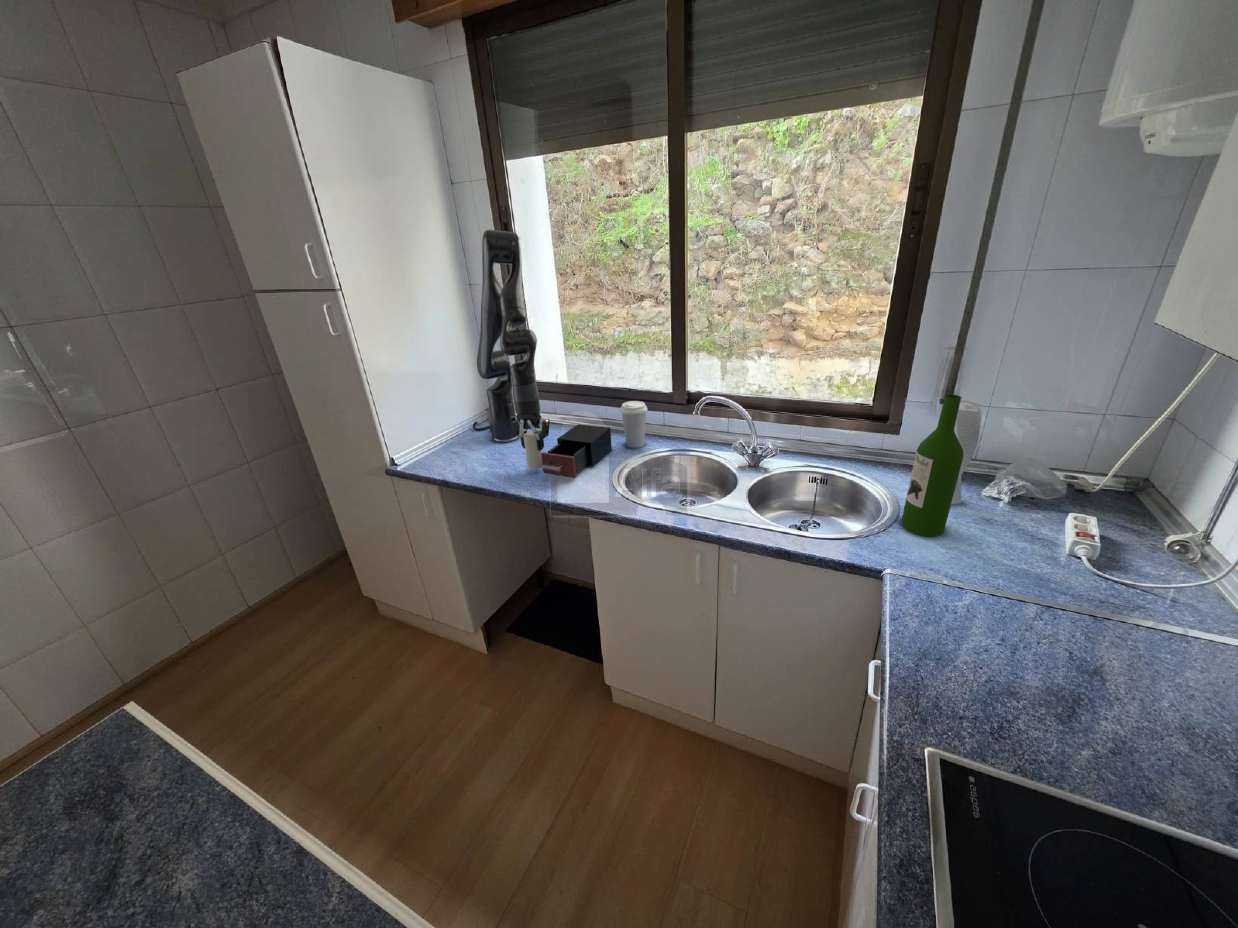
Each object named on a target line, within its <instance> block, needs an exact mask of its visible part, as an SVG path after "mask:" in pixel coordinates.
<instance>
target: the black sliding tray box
mask: <svg viewBox="0 0 1238 928" xmlns="http://www.w3.org/2000/svg"><path fill="white" fill-rule="evenodd" d="M611 433H612V432H611V427H607V426H599V425H590V424H581V423H580V424H579V423H578V424H576V425H575V426H573V427H572V428H571V429H569V430H568V431H566V432H564V433H563V434H561V435H560V436H559V437H557V438H556V441H557V445H558V444H559V443H560V442H562V441H563V442H571V443H579V444H586V445H589V453H590V463H589V464H588V465H586V466H585V467H589V468H593V467H595V466H596V465H597V464H598V463H600V461H602V460H603V459H605V457H606V456H608V455H609V454H610V453H611V452H612V450H613V447H612V434H611Z"/></svg>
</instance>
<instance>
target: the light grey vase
mask: <svg viewBox="0 0 1238 928" xmlns="http://www.w3.org/2000/svg"><path fill="white" fill-rule="evenodd" d="M981 407H982V405H981V403H979V402H977V401H971V400H966V399H962V398H961V401H960V405H959V410H958V414H957V419H956V423H955V427H954V431H955V434H956V436H957V438H958V440H959V442H960V445H961V447H962V449H963V460H962V464H961V468H960V472H959V476H958V480H957V483H956V487H955V491H954V495H953V499H952V503H951V506H953V505H957V504H962V500H963V499H962V475H963V474H964V471H965V470H966V469H967V467H968V466H969V464H970V462H971V461H972V459H973V456H974V454H975V453H976V449H977V447H978V443H979V440H980V435H981V426H982V425H981V424H982V410H981Z"/></svg>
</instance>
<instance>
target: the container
mask: <svg viewBox="0 0 1238 928" xmlns="http://www.w3.org/2000/svg"><path fill="white" fill-rule="evenodd" d="M523 437H524V444H525V449H524V451H525V456H526V464H527V468H528V469H529V470H539V469H543V468H542V465H543V464H542V456H541V453H543V451H542V450H543V449H542V450H541V451H539V450H538V448H537V438H536V436H535V434H533V432H532V431H527V433H525V434H524V435H523Z"/></svg>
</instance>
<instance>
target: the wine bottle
mask: <svg viewBox="0 0 1238 928" xmlns="http://www.w3.org/2000/svg"><path fill="white" fill-rule="evenodd" d="M961 399H962V396H960V395H958V394H945V395H944V399H943V402H942V407H941V411H940V415H939V418H938V422H937V427H936V428H935V429H934V430H933V431H932V432H931V433H930V434H929V435H928V436H927V437H925V438H924V439H923V440H922V441H921V442H920V443H919V445H918V447H917V449H916V452H915V457H914V459H913V465H912V470H911V474H910V479H909V484H908V488H907V494H906V497H905V502H904V507H903V511H902V517H901V520H900V521H901V526H902V527H903V528H904V529H905V530H906V531H907V532H909V533H911V534H914V535H917V536H922V537H929V538H931V537H932V538H933V537H939V536H941V535H942V534H943V533H944V532H945V529H946V525H947V522H948V518H949V514H950V510H951V506H952V505H951V503H952V499H953V495H954V491H955V487H956V483H957V480H958V476H959V472H960V468H961V464H962V460H963V449H962V447H961V445H960V442H959V440H958V438H957V436H956V434H955V431H954V427H955V423H956V419H957V414H958V410H959V405H960V404H961V402H960V401H961Z"/></svg>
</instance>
